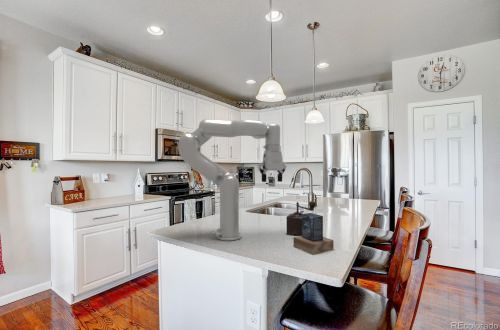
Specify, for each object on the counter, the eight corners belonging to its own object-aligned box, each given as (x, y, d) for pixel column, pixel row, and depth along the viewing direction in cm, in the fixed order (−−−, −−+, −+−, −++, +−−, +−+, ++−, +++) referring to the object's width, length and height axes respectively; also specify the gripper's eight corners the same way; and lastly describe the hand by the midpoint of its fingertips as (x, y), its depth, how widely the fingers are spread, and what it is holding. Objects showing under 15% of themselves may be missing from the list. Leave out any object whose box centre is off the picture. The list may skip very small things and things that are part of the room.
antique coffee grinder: (285, 235, 131) (285, 200, 131) (289, 229, 141) (289, 197, 141) (316, 238, 125) (315, 201, 126) (318, 232, 136) (318, 199, 136)
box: (301, 237, 112) (301, 213, 112) (311, 235, 115) (311, 212, 115) (313, 242, 105) (312, 216, 105) (323, 240, 108) (323, 215, 108)
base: (313, 254, 102) (313, 244, 102) (293, 246, 112) (293, 237, 112) (333, 249, 108) (333, 240, 108) (313, 242, 118) (313, 233, 118)
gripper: (262, 147, 122) (261, 182, 122) (290, 148, 130) (289, 181, 130) (254, 148, 129) (253, 181, 129) (281, 149, 137) (281, 181, 137)
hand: (272, 181), depth 129 cm, fingers open, 9 cm apart
